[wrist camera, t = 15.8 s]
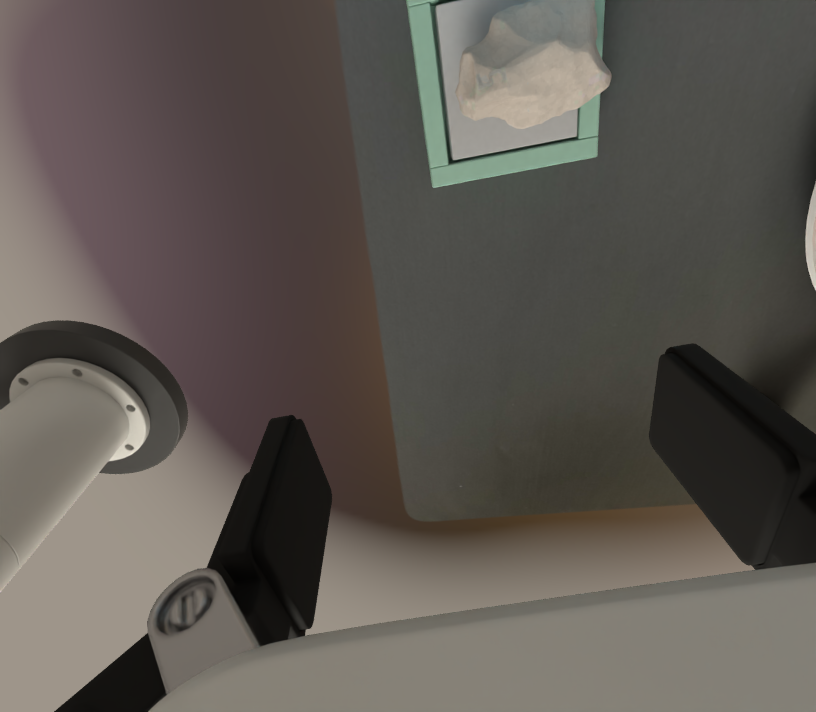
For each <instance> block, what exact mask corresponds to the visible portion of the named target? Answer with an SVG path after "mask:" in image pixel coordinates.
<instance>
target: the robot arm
mask: <svg viewBox="0 0 816 712" xmlns="http://www.w3.org/2000/svg"><path fill="white" fill-rule="evenodd" d="M9 398H10V403H9V404H8V405H6V406H5V407H4V408H2V409H1V410H0V593H1V591H2V590H3V589H4V588H5V586H6V585H7V584H8V583H9V582H10V580H11V579H12V578H13V577H14V575H15V574H16V573H17V572H18V571H19V569H20V568H21V567H22V566H23V565H24V563H25V562H26V561H27V560H28V559H29V557H30V556H31V555H32V554H33V553H34V551H35V550H36V549H37V548H38V546H39V545H40V544H41V543H42V542H43V540H44V539H45V538H46V537H47V535H48V534H49V533H50V532H51V531H52V529H53V528H54V527H55V526H56V524H57V523H58V522H59V521H60V520H61V518H62V517H63V516H64V515H65V513H66V512H67V511H68V510H69V508H70V507H71V506H72V505H73V504H74V503H75V501H76V500H77V499H78V498H79V496H80V495H81V494H82V493H83V491H84V490H85V489H86V488H87V487H88V485H89V484H90V483H91V482H92V480H93V479H94V478H95V477H96V476H97V474H98V473H99V472H100V471H101V470H102V468H103V467H104V466H105V465H106V464H107V462H108V461H114V460H119V459H123V458H125V457H127V456H130V455H132V454H133V453H134V452H136V451H137V450H138V449H139V448H140V447H141V445H142V444H143V443H144V442H145V440H146V438H147V436H148V435H149V430H150V417H149V414H148V411H147V408H146V406H145V405H144V403H143V401H142V399H141V398H140V397H139V396H138V394H137V393H136V392H135V391H134V390H133V389H132V388H131V387H130V386H129V385H128V384H127V383H126V382H124V381H123V380H122V379H120V378H119V377H117V376H116V375H114V374H113V373H111V372H109V371H107V370H105V369H103V368H101V367H99V366H96V365H93V364H91V363H88V362H84V361H80V360H75V359H68V358H51V359H45V360H41V361H37V362H35V363H33V364H31V365H29V366H28V367H26V368H25V369H24V370H22V371H21V372H20V373H18V374H17V375H16V377H15V378H14V380H13V381H12V383H11V386H10V390H9ZM649 439H650V443H651V445H652V447H653V449H654V450H655V451H656V453H657V454H658V455H659V456H660V458H661V459H662V460H663V462H664V463H665V464H666V465H667V467H668V468H669V469H670V470H671V472H672V473H673V474H674V476H675V477H676V478H677V479H678V481H679V482H680V483H681V485H682V486H683V487H684V488H685V490H686V491H687V492H688V494H689V495H690V496H691V497H692V499H693V500H694V501H695V503H696V504H697V505H698V506H699V508H700V509H701V510H702V511H703V513H704V514H705V515H706V517H707V518H708V519H709V520H710V522H711V523H712V524H713V526H714V527H715V528H716V529H717V531H718V532H719V533H720V535H721V536H722V537H723V538H724V540H725V541H726V542H727V543H728V545H729V546H730V547H731V549H732V550H733V551H734V552H735V554H736V555H737V556H738V558H739V559H740V560H741V561H742V562H743V563H745V564H746V565H752V566H753V567H754V569H755V570H752V571H743V572H736V573H729V574H722V575H714V576H707V577H701V578H692V579H685V580H678V581H670V582H663V583H656V584H649V585H641V586H634V587H627V588H620V589H613V590H606V591H599V592H592V593H585V594H578V595H571V596H564V597H557V598H550V599H543V600H536V601H529V602H522V603H515V604H508V605H501V606H495V607H487V608H480V609H473V610H467V611H460V612H453V613H447V614H440V615H433V616H426V617H420V618H413V619H406V620H399V621H393V622H386V623H379V624H373V625H367V626H361V627H355V628H349V629H343V630H338V631H331V632H325V633H319V634H313V635H307V636H305V630H306V629H310V628H311V627H312V625H313V621H314V615H315V608H316V602H317V595H318V589H319V582H320V576H321V569H322V562H323V556H324V549H325V542H326V536H327V528H328V522H329V516H330V509H331V503H332V494H331V488H330V486H329V483H328V481H327V478H326V476H325V474H324V471H323V468H322V466H321V464H320V461H319V459H318V456H317V454H316V451H315V449H314V447H313V444H312V442H311V439H310V437H309V435H308V432H307V430H306V427H305V425H304V423H303V421H302V420H301V419H297V420H296V418H295V417H294V416H293V415H289V416H283V417H278V418H272V419H271V420H270V421H269V423H268V426H267V429H266V431H265V434H264V436H263V439H262V441H261V444H260V446H259V449H258V452H257V454H256V457H255V459H254V462H253V464H252V467H251V469H250V472H249V473H247V474H246V475H245V476H244V478H243V479H242V481H241V484H240V487H239V489H238V491H237V494H236V496H235V499H234V501H233V504H232V506H231V509H230V512H229V514H228V516H227V519H226V521H225V524H224V526H223V529H222V531H221V534H220V536H219V539H218V541H217V544H216V546H215V548H214V551H213V554H212V556H211V558H210V561H209V563H208V566H207V568H205V569H197V570H194V571H191V572H188V573H186V574H184V575H183V576H181V577H179V578H178V579H176V580H175V581H174V582H173V583H172V584H170V585H169V586H168V587H167V588H166V589H165V590H164V592H162V594H161V595H160V596H159V597H158V599H157V600H156V602H155V604H154V605H153V607H152V609H151V611H150V614H149V618H148V621H147V627H148V633H147V634H146V635H145V636H144V637H142V638H141V639H140V640H139V641H138V642H136V643H135V644H134V645H133V646H132V647H131V648H129V649H128V650H127V651H126V652H125V653H123V654H122V655H121V656H120V657H119V658H118V659H116V660H115V661H114V662H113V663H112V664H110V665H109V666H108V667H107V668H106V669H104V670H103V671H102V672H101V673H100V674H98V675H97V676H96V677H95V678H94V679H93V680H91V681H90V682H89V683H88V684H87V685H85V686H84V687H83V688H82V689H81V690H79V691H78V692H77V693H76V694H75V695H74V696H72V698H70V699H69V700H68V701H66V702H65V703H64V704H63V705H62V706H61V707H59V708H58V709H57V710H56V711H54V712H816V434H814V433H813V432H812V431H810V430H809V429H808V428H807V427H805V426H804V425H803V424H801V423H800V422H799V421H797V420H796V419H795V418H793V417H792V416H791V415H789V414H788V413H787V412H785V411H784V410H783V409H781V408H780V407H779V406H778V405H776V404H775V403H774V402H772V401H771V400H770V399H768V398H767V397H766V396H764V395H763V394H762V393H760V392H759V391H758V390H756V389H755V388H754V387H753V386H751V385H750V384H749V383H747V382H746V381H745V380H743V379H742V378H741V377H739V376H738V375H737V374H735V373H734V372H733V371H731V370H730V369H729V368H727V367H726V366H725V365H724V364H722V363H721V362H720V361H718V360H717V359H716V358H714V357H713V356H712V355H710V354H709V353H708V352H706V351H705V350H704V349H702V348H701V347H700V346H698V345H697V344H687V345H681V346H675V347H670V348H668V349H667V350H666V352H665V354H663V355H661V356H660V358H659V363H658V371H657V378H656V386H655V394H654V401H653V409H652V416H651V424H650V431H649Z"/></svg>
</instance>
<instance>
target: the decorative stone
mask: <svg viewBox="0 0 816 712" xmlns="http://www.w3.org/2000/svg"><path fill="white" fill-rule="evenodd" d="M594 7H595V0H531V1H528V2H526V3H524V4H520V5H515V6H511V7H509V8H507V9H505V10H503V11H499V12H498V13H496V15H494V16H493V18H492V20H491V23H490V27H489V32H488V34H487V35H486V37H485V38H484V39H483V40H482V41H481V42H480V43H478V44H476V45H474V46H469V47H466V48H465V50H464V51H463V52H462V57H461V60H460V70H459V83H458V86H457V88H456V91H455V93H456V97H457V98H458V101H459V106H460V110H461V112H462V114H463V115H464V116H466V117H469V118H471V119H473V120H474V121H477V120H479V119H483V118H485V117H495V118H496V117H497V118H500V119H502V120H505V121H506V122H507V124H508V125H510V126H513V127H514V128H517V129H525V128H528V127H531V126H534V125H537V124H542V123H544V121H546V120H548V119H550V118H552V117H555V116H561V115H562V114H563V113H564V112H566V111H569V110H575V109H577V108H579V107H581V106H582V105H584V104H585V103H586V102H588V101H589V100H591V99H592V98H593V97H594V96H596V95H597V94H600V93H601V92H602V91H604V90H605V89H606V88H607V87H608V86H609V84H610V81H611V77H612V74H611V71H610V70H609V69H608V68H607V66H606V65H605V63H604V62H603V61H602V58H601V56H600V54H599V52H598V49H597V46H596V39H597V15H596V11H595V8H594Z"/></svg>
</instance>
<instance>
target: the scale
mask: <svg viewBox="0 0 816 712" xmlns="http://www.w3.org/2000/svg"><path fill="white" fill-rule="evenodd" d="M453 1H457V0H406V3H407V10H408V18H409V25H410V32H411V39H412V47H413V54H414V61H415V68H416V76H417V83H418V90H419V97H420V105H421V112H422V119H423V126H424V134H425V141H426V148H427V155H428V163H429V170H430V177H431V184H432V186H433V188H435V187H441V186H446V185H451V184H456V183H462V182H467V181H472V180H477V179H483V178H488V177H493V176H499V175H504V174H509V173H514V172H520V171H525V170H530V169H535V168H541V167H546V166H551V165H557V164H562V163H567V162H572V161H578V160H583V159H588V158H593V157H597V149H598V136H597V135H598V128H599V109H600V94H597V95H596V96H594V97H593V98H592V99H591V100H589V101H588V102H586V103H585V104H584V105H582V106H581V107H579V108H578V117H577V136H576V137H571V138H565V139H560V140H555V141H550V142H545V143H540V144H535V145H529V146H524V147H519V148H514V149H509V150H504V151H498V152H493V153H488V154H483V155H478V156H473V157H468V158H462V159H457V160H453V159H452V158H451V157H450V148H449V139H448V130H447V121H446V113H445V104H444V95H443V86H442V77H441V68H440V59H439V50H438V41H437V33H436V24H435V15H434V11H435V8H436V6H437V5H439V4H444V3H448V2H453ZM594 8H595V11H596V15H597V39H596V46H597V49H598V52H599V54H600V56H601V58H602V51H603V31H604V12H605V0H595V7H594Z"/></svg>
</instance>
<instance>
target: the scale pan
mask: <svg viewBox="0 0 816 712" xmlns="http://www.w3.org/2000/svg"><path fill="white" fill-rule="evenodd" d="M528 1H531V0H457V1H453V2H448V3H444V4H439V5H437V6H436V8H435V11H434V15H435V24H436V33H437V41H438V50H439V59H440V68H441V77H442V86H443V95H444V104H445V113H446V121H447V130H448V139H449V148H450V157H451V158H452V159H453V160H457V159H462V158H468V157H473V156H478V155H483V154H488V153H493V152H498V151H504V150H509V149H514V148H519V147H524V146H529V145H535V144H540V143H545V142H550V141H555V140H560V139H565V138H571V137H576V136H577V117H578V108H577V109H575V110H569V111H566V112H564V113H563V114H562V115H561V116H555V117H552V118H550V119H548V120H546V121H544V123H542V124H537V125H534V126H531V127H528V128H525V129H517V128H514V127H513V126H510V125H508V124H507V122H506V121H505V120H502V119H500V118H497V117H496V118H495V117H485V118H483V119H479V120H477V121H474V120H473V119H471V118H469V117H466V116H464V115H463V114H462V112H461V110H460V106H459V101H458V98H457V97H456V93H455V91H456V88H457V86H458V83H459V70H460V60H461V57H462V52H463V51H464V50H465V48H466V47H469V46H474V45H476V44H478V43H480V42H481V41H482V40H483V39H484V38H485V37H486V35H487V34H488V32H489V27H490V23H491V20H492V18H493V16H494V15H496V13H498V12H499V11H503V10H505V9H507V8H509V7H511V6H515V5H520V4H524V3H526V2H528Z"/></svg>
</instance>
